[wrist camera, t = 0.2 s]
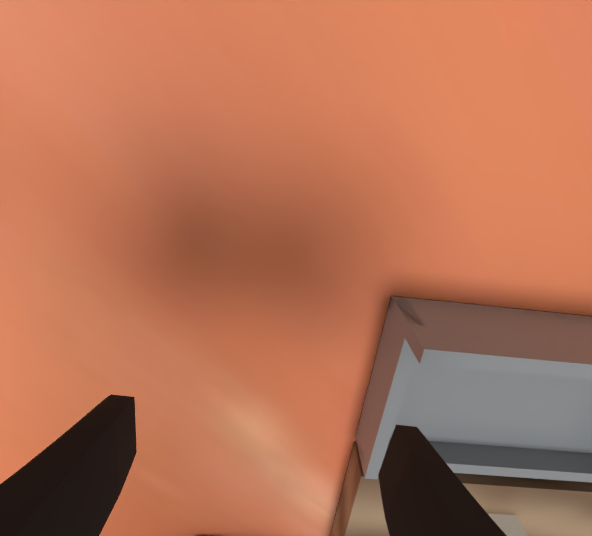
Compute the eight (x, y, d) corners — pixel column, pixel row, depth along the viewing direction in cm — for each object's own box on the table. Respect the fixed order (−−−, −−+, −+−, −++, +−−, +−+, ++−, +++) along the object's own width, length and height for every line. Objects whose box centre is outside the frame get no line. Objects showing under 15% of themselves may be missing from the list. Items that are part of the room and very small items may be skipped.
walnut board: (523, 570, 29) (543, 607, 27) (324, 559, 28) (327, 597, 26) (595, 459, 24) (628, 494, 22) (354, 441, 23) (361, 476, 21)
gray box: (599, 455, 24) (672, 532, 19) (355, 436, 23) (371, 513, 18) (683, 325, 20) (802, 384, 15) (391, 296, 19) (424, 349, 14)
